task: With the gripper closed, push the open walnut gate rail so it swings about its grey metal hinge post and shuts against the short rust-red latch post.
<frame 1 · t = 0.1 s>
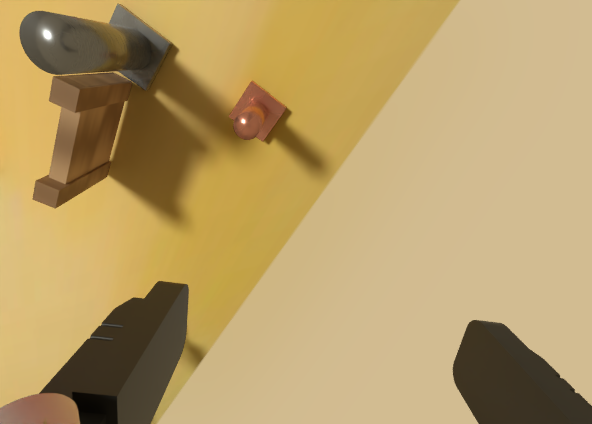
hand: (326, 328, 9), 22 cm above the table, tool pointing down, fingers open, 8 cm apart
gate posts: (135, 49, 26), on the table
gate: (85, 137, 25), point 5 cm above the table, hinge at -80.0°
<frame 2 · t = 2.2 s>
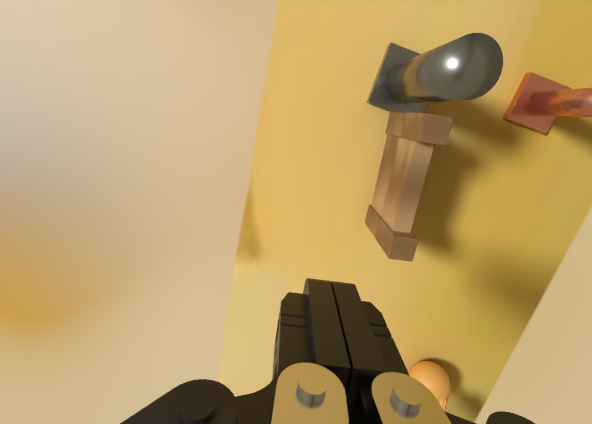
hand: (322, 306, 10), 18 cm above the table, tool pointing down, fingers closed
figurine: (416, 373, 34), on the table
gate posts: (403, 83, 25), on the table
gate: (400, 180, 23), point 4 cm above the table, hinge at -80.0°
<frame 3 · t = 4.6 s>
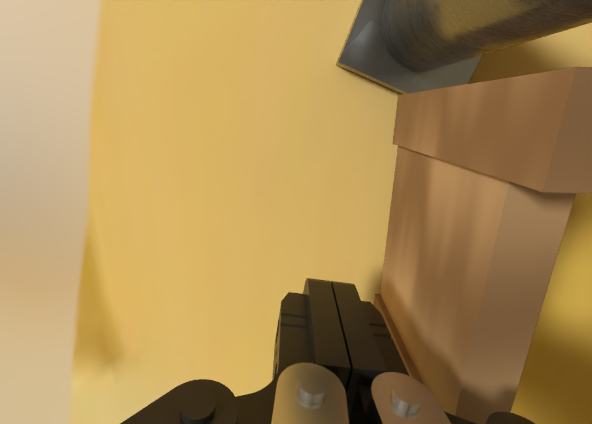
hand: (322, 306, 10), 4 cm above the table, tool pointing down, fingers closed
gate posts: (420, 25, 11), on the table
gate: (447, 268, 9), point 4 cm above the table, hinge at -69.7°, touching gripper
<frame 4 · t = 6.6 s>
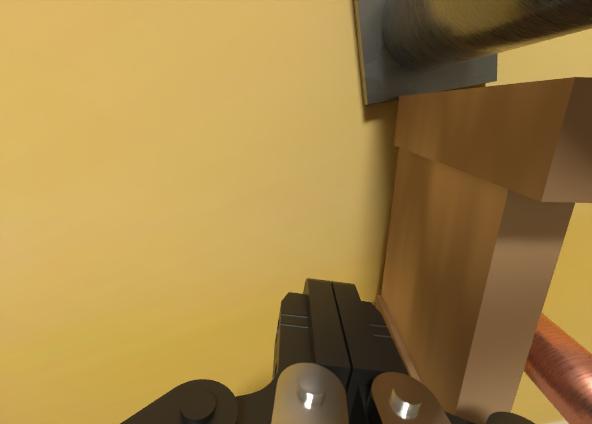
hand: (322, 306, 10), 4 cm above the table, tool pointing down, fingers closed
gate posts: (421, 25, 11), on the table
gate: (447, 271, 9), point 5 cm above the table, hinge at -11.0°, touching gripper
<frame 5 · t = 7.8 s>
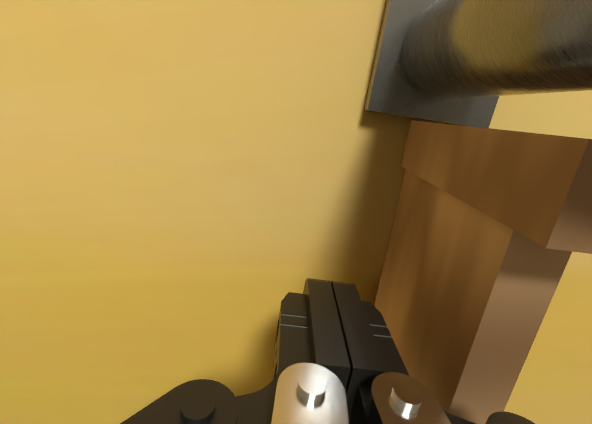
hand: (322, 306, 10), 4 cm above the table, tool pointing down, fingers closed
gate posts: (438, 54, 11), on the table
gate: (442, 295, 9), point 4 cm above the table, hinge at 1.6°, touching gate posts, gripper
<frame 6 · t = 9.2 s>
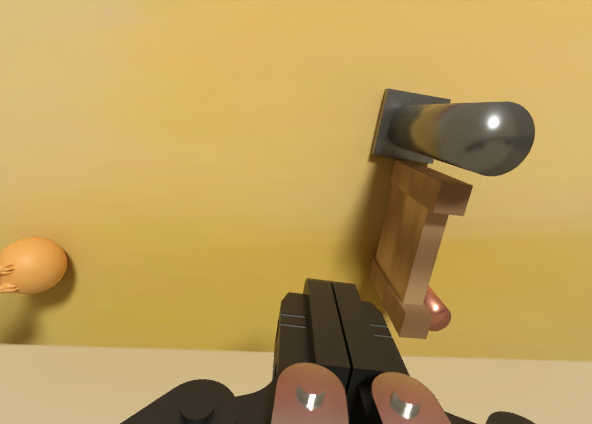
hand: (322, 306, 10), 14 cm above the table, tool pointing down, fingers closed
figurine: (40, 251, 25), on the table
gate posts: (407, 127, 23), on the table
gate: (408, 241, 20), point 4 cm above the table, hinge at 1.6°, touching gate posts
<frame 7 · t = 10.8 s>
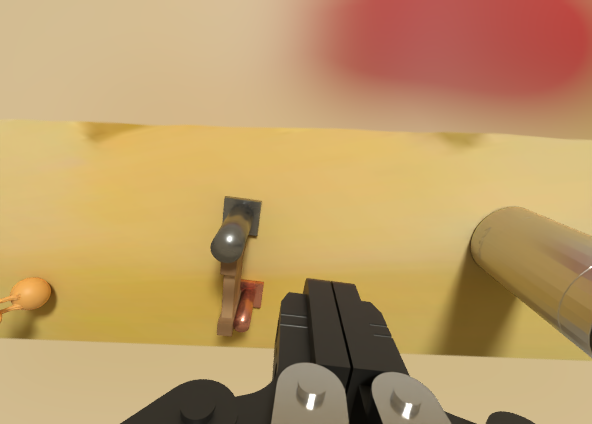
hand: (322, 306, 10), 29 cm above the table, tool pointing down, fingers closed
figurine: (35, 284, 42), on the table
gate posts: (241, 215, 40), on the table
gate: (232, 283, 37), point 5 cm above the table, hinge at 1.6°, touching gate posts
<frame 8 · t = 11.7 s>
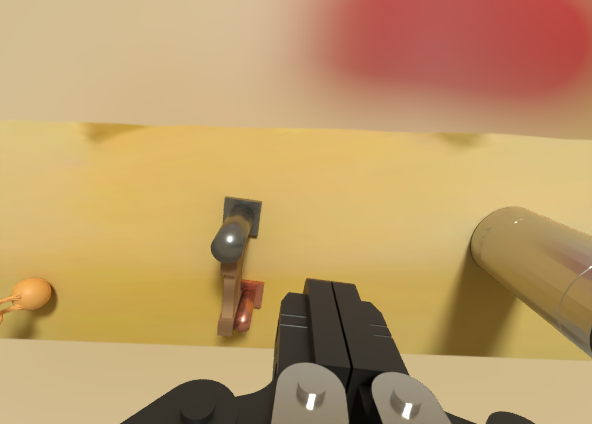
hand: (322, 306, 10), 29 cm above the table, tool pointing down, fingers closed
figurine: (36, 284, 42), on the table
gate posts: (242, 215, 40), on the table
gate: (232, 283, 37), point 5 cm above the table, hinge at 1.6°, touching gate posts
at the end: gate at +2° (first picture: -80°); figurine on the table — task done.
